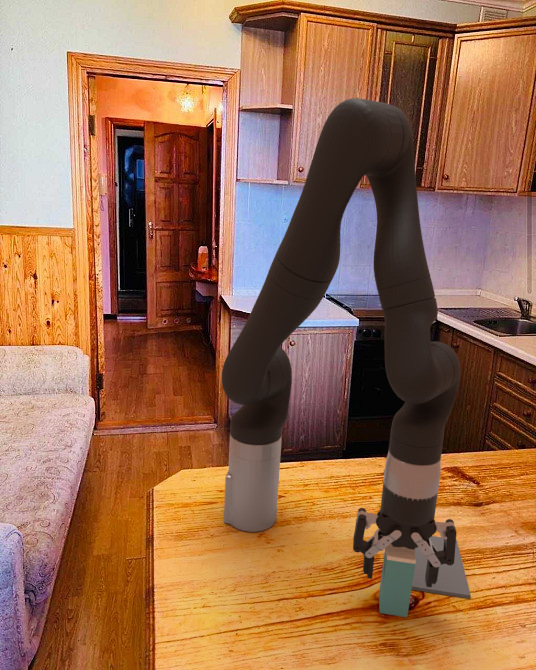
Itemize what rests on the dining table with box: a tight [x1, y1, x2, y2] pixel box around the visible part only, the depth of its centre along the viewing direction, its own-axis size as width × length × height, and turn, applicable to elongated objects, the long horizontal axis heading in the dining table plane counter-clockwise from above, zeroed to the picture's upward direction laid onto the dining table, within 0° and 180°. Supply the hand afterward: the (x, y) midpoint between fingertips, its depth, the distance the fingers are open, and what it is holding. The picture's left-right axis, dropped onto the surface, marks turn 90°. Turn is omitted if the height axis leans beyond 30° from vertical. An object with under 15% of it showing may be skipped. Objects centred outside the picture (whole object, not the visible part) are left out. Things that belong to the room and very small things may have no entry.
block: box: [378, 544, 416, 618], centre depth 84 cm, size 4×4×10 cm
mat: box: [411, 535, 471, 600], centre depth 95 cm, size 12×14×1 cm
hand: (398, 579), depth 84 cm, fingers open, 8 cm apart
